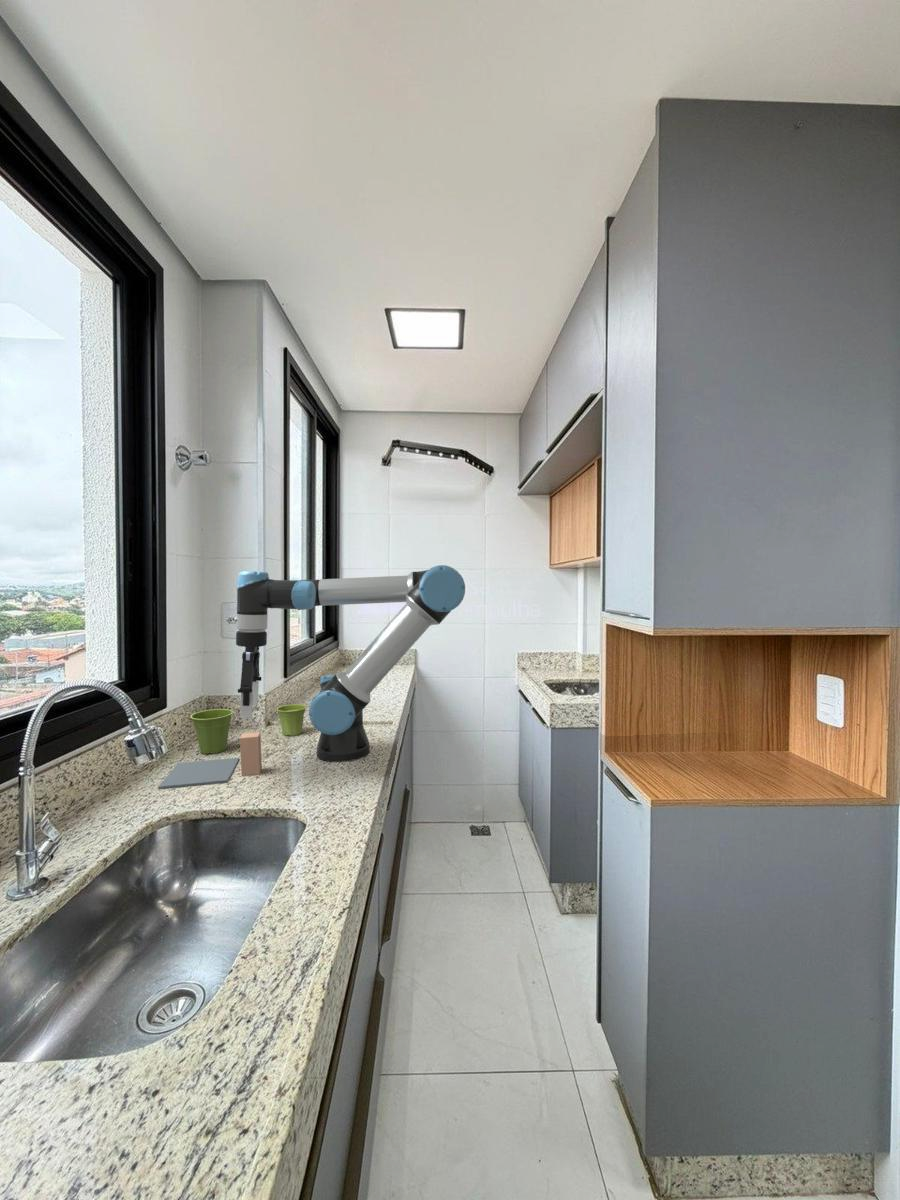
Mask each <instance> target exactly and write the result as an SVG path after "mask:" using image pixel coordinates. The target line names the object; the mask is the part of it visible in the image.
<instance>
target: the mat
mask: <svg viewBox="0 0 900 1200" xmlns="http://www.w3.org/2000/svg"><path fill="white" fill-rule="evenodd" d="M239 761H240V757H232V758H231V757H229V758H218V759H208V760H207V759H206V760H197V761H186V762H185V761H183V762H177V764H176V765H175V766H174V767H173V769H172V770H171V771H170V772H169V773H168V774H167V776H166V777H165V778H163V781H162V782H161V783H160V784H159V785H158V786H157V789H158V790H164V789H174V788H185V787H194V786H195V787H196V786H206V785H215V784H224V783H225V784H227V783H228V782H229V781H230V779H231V776H232V775H233V773H234V771H235V769H236V767H237V765H238V762H239Z"/></svg>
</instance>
